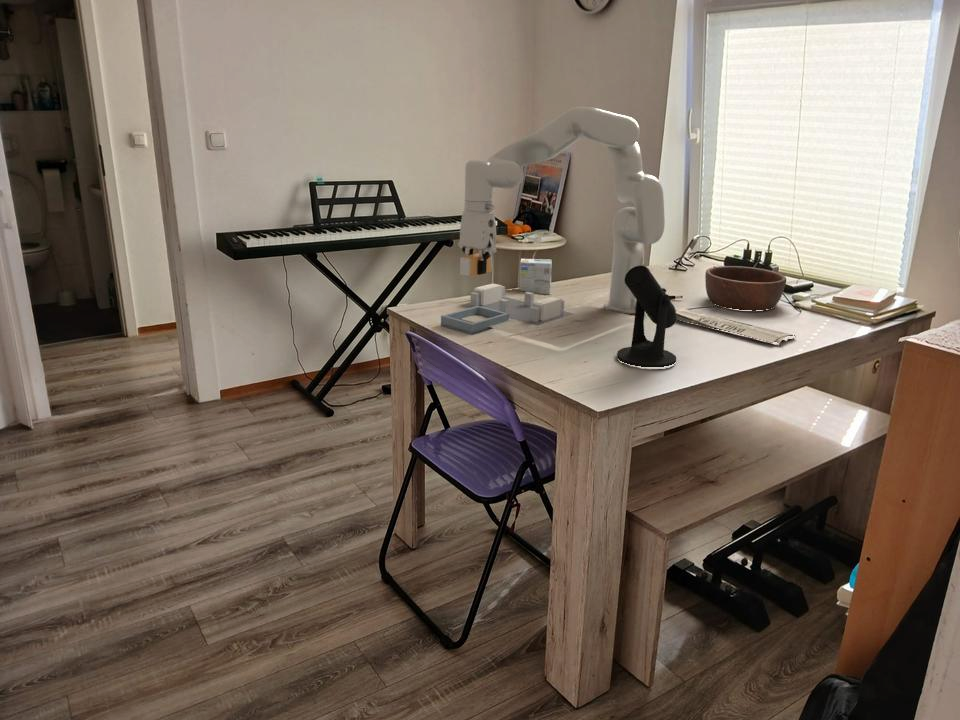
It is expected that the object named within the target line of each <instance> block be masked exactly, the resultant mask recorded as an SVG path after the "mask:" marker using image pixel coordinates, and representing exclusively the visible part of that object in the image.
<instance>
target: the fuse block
mask: <svg viewBox="0 0 960 720" xmlns="http://www.w3.org/2000/svg"><path fill="white" fill-rule="evenodd" d="M534 298H535V293H531V292H526V291H525V292H524V301H523V300H520V299H515V298H511V297H506V286H503V285H502V299H500V300H499V301H498V302H494V303H491V304H487V305H484V306H483V305H479V303H480V293H476V292H474V291H473V292H470V300H469V301H470V302H467V303H463V304H460V306H461V307H466V308H471V307H475V306H481V307H485V308H489V309H493V310H497V311H501V312H505V313H509V319H511V320H514V321H515V320H516V321H519V322H523V323H526V324H531V325H534V326H540V325H543V324H547V323H550V322H553V321H555V320H559V319H561V318H565V317H568V316H571V315H574V312H569V311H565V300H564V299H562V306H561V314H560V315H559V316H556V317H553V318H550V319H547V320H544V321H542V320H539V312H540V308H538V307H534V306H533V303H534V302H535V299H534Z"/></svg>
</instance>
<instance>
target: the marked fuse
mask: <svg viewBox="0 0 960 720" xmlns="http://www.w3.org/2000/svg"><path fill="white" fill-rule="evenodd" d="M483 254H484V252H483ZM459 260H460V261H459V262H460V263H459V275H463V276H467V277H473V276H479V275H478V273H477V271H478V260H480V259H479V252H478V253H474V254H472V255H467V256H465V255H462V256H461V257H460V258H459ZM492 271H493V254H492V255H491V256H490V257H489V259H488V260H487V269H486V273H490V272H492ZM486 273H485V274H486Z"/></svg>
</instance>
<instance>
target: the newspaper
mask: <svg viewBox="0 0 960 720" xmlns="http://www.w3.org/2000/svg"><path fill="white" fill-rule="evenodd" d="M675 310H676V317H677V320H681V321H685V322H689V323H693V324H698V325H701V326H705V327H710V328H714V329H719V330H724V331H728V332H733V333H737V334H740V335H744V336H748V337H752V338H755V339H759V340H763V341H766V342H770V343H773V342H777V343H780V344H781V342H782V339H783V338H785V337H787V336H793V335H794V336H795V337H796V335H795V334H791V333H787V332H783V331H779V330H774V329H770V328H766V327H761V326H758V325H753V324H749V323H744V322H741V321H736V320H731V319H727V318H725V317H724V318H723V317H719V316H715V315H712V314H707V313H703V312H699V311H695V310H691V309H688V308H679V309H678V308H677V309H675ZM685 322H684V323H685ZM689 323H688V324H689ZM693 324H692V325H693ZM701 326H700V327H701ZM705 327H704V328H705Z"/></svg>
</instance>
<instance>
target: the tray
mask: <svg viewBox="0 0 960 720" xmlns="http://www.w3.org/2000/svg"><path fill="white" fill-rule="evenodd" d="M477 314H478V315H482V316H486V317H488V318H485V319H481V320H477V321H475V322H473V321H471V320H466V319H464V318H467V317H471V316H475V315H477ZM508 321H510V318H509V313H505V312H501V311H497V310H493V309H489V308H485V307H481V306H475V307H471V308H469V307H467V308H464V309H461V310H457V311H453V312H450V313H446V314H443V315H440V326H441V327H443V328H446V329H450V330H454V331H456V332H460V333H464V334H467V335H470V336H473V335H478V334H480V333H483V332H487V331H490V330H492V329H494V326H495V325H499V324H502V323H506V322H508ZM492 326H493V327H492Z"/></svg>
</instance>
